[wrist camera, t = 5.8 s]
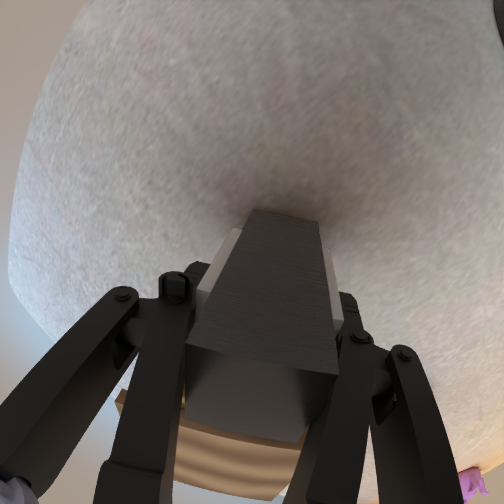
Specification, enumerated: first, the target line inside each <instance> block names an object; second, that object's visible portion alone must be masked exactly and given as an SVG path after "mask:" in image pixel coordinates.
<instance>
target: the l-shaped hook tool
mask: <svg viewBox="0 0 504 504" xmlns="http://www.w3.org/2000/svg"><path fill="white" fill-rule="evenodd" d="M338 376H339V368H338V358H337V349H336V340H335V332H334V324H333V316H332V308H331V301H330V294H329V287H328V281H327V275H326V268H325V262H324V256H323V250H322V245H321V239H320V234H319V228H318V223H317V222H313V221H309V220H304V219H300V218H295V217H291V216H286V215H282V214H277V213H272V212H267V211H263V210H258V209H253V211H252V213H251V215H250V217H249V218H248V220H247V222H246V224H245V226H244V228H243V230H242V232H241V234H240V236H239V238H238V240H237V241H236V243H235V245H234V247H233V249H232V251H231V253H230V255H229V257H228V259H227V261H226V263H225V265H224V267H223V269H222V271H221V273H220V275H219V277H218V279H217V280H216V282H215V284H214V286H213V288H212V290H211V292H210V294H209V296H208V298H207V300H206V302H205V304H204V306H203V308H202V310H201V312H200V314H199V316H198V318H197V320H196V322H195V324H194V326H193V328H192V330H191V332H190V334H189V336H188V338H187V340H186V342H185V419H186V420H189V421H192V422H196V423H199V424H203V425H207V426H211V427H215V428H219V429H223V430H227V431H231V432H236V433H241V434H245V435H250V436H256V437H261V438H267V439H273V440H280V441H286V442H294V443H297V442H298V440H299V439H300V437H301V436H302V434H303V433H304V431H305V430H306V428H307V427H308V425H309V424H310V422H311V421H312V419H313V418H314V416H315V415H316V413H317V411H318V410H319V408H320V407H321V405H322V403H323V402H324V400H325V398H326V397H327V395H328V393H329V392H330V390H331V388H332V387H333V385H334V383H335V381H336V380H337V378H338Z"/></svg>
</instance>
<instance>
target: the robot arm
mask: <svg viewBox="0 0 504 504" xmlns="http://www.w3.org/2000/svg"><path fill="white" fill-rule="evenodd" d="M494 5H495V13H496V18H497V23H498V26H499V30H500V33H501V36H502V39H503V42H504V0H494ZM241 232H242V229H237V228H233V229H232V230H231V232H230V234H229V235H228V237H227V239H226V240H225V242H224V243H223V245H222V247H221V248H220V250H219V252H218V253H217V255H216V257H215V258H214V260H213V262H212V263H211V264H207V263H203V262H198V261H196V262H194V263H192V264H190V265H189V266H188V267H187V269H186V270H185V272H184V273H183V272H178V271H171V272H166V273H164V274H162V275H161V276H160V277H159V297H158V298H155V299H148V298H139V294H138V292H137V291H136V289H134V288H132V287H128V286H118V287H115V288H113V289H111V290H110V291H108V292H107V293H106V294H105V295H104V296H103V297H102V298H101V299H100V300H99V301H98V302H97V303H96V304H95V305H94V306H93V307H92V308H91V309H90V310H88V311H87V312H86V313H85V314H84V315H83V316H82V317H81V318H80V319H79V320H78V321H77V322H76V323H75V324H74V325H73V326H72V327H71V328H70V329H69V330H68V331H67V332H66V333H65V334H64V335H63V336H62V338H61V339H60V340H59V341H58V342H57V343H56V344H55V345H54V346H53V347H52V348H51V349H50V350H49V351H48V352H47V353H46V354H45V355H44V356H43V358H42V359H41V360H40V361H39V362H38V363H37V364H36V365H35V366H34V367H33V368H32V369H31V371H30V372H29V373H28V374H27V375H26V376H25V377H24V378H23V380H22V381H21V382H20V383H19V384H18V385H17V387H16V388H15V389H14V390H13V391H12V392H11V393H10V395H9V396H8V397H7V398H6V399H5V400H4V402H3V403H2V404H1V405H0V504H39V502H38V498H39V497H41V496H42V495H43V494H44V493H45V492H46V491H47V490H48V489H49V487H50V486H51V485H52V483H53V482H54V481H55V479H56V478H57V476H58V475H59V473H60V471H61V470H62V468H63V466H64V465H65V463H66V462H67V460H68V458H69V457H70V455H71V454H72V452H73V450H74V449H75V447H76V446H77V444H78V442H79V441H80V439H81V438H82V436H83V435H84V433H85V432H86V430H87V428H88V427H89V425H90V424H91V422H92V420H93V419H94V418H95V416H96V415H97V413H98V412H99V410H100V408H101V407H102V406H103V404H104V403H105V401H106V400H107V398H108V397H109V395H110V394H111V392H112V391H113V389H114V388H115V386H116V385H117V383H118V382H119V380H120V379H121V377H122V376H123V374H124V373H125V371H126V370H127V369H128V367H129V366H130V364H131V363H132V361H133V360H134V358H135V357H136V356H137V354H138V353H139V355H138V358H137V361H136V364H135V367H134V371H133V374H132V377H131V381H130V384H129V387H128V391H127V394H126V398H125V401H124V405H123V409H122V412H121V416H120V420H119V424H118V428H117V431H116V435H115V439H114V443H113V448H112V452H111V455H110V457H109V459H108V460H106V461H104V463H103V464H102V466H101V468H100V472H99V475H98V480H97V485H96V489H95V494H94V500H93V504H172V488H173V477H174V467H175V457H176V447H177V438H178V429H179V421H180V413H181V405H182V397H183V390H184V382H185V342H186V340H187V338H188V336H189V334H190V332H191V330H192V328H193V326H194V324H195V322H196V320H197V318H198V316H199V314H200V312H201V310H202V308H203V306H204V304H205V302H206V300H207V298H208V296H209V294H210V292H211V290H212V288H213V286H214V284H215V282H216V280H217V279H218V277H219V275H220V273H221V271H222V269H223V267H224V265H225V263H226V261H227V259H228V257H229V255H230V253H231V251H232V249H233V247H234V245H235V243H236V241H237V240H238V238H239V236H240V234H241ZM322 250H323V256H324V262H325V268H326V275H327V281H328V287H329V294H330V301H331V308H332V316H333V324H334V332H335V340H336V349H337V358H338V368H339V376H338V378H337V380H336V381H335V383H334V385H333V387H332V388H331V390H330V392H329V393H328V395H327V397H326V398H325V400H324V402H323V403H322V405H321V407H320V408H319V410H318V411H317V413H316V415H315V416H314V418H313V419H312V421H311V422H310V424H309V427H308V431H307V434H306V437H305V440H304V444H303V447H302V450H301V453H300V456H299V459H298V462H297V465H296V468H295V471H294V474H293V477H292V479H291V482H290V485H289V488H288V490H287V493H286V496H285V498H284V501H283V503H282V504H357V498H358V493H359V488H360V483H361V478H362V472H363V466H364V460H365V453H366V446H367V438H368V430H369V425H370V431H371V438H372V444H373V451H374V459H375V467H376V475H377V484H378V494H379V504H464V499H463V494H462V490H461V485H460V481H459V477H458V473H457V469H456V465H455V461H454V457H453V454H452V450H451V447H450V443H449V440H448V437H447V433H446V430H445V427H444V424H443V421H442V418H441V415H440V412H439V409H438V406H437V403H436V401H435V398H434V395H433V392H432V390H431V387H430V385H429V382H428V379H427V377H426V374H425V372H424V369H423V367H422V364H421V362H420V360H419V357H418V355H417V354H416V352H415V351H414V350H412V349H411V348H410V347H408V346H405V345H395V346H393V347H392V349H391V351H388V350H385V349H383V348H380V347H378V346H376V345H374V341H373V338H372V336H371V335H370V334H369V333H368V332H367V331H365V330H364V328H363V324H362V320H361V317H360V314H359V309H358V305H357V301H356V300H355V298H354V297H353V296H352V295H351V294H349V293H344V292H339V291H338V286H337V281H336V276H335V272H334V267H333V262H332V258H331V253H330V249H329V248H325V247H322ZM139 351H140V352H139Z"/></svg>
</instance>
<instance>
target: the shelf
mask: <svg viewBox="0 0 504 504" xmlns="http://www.w3.org/2000/svg"><path fill="white" fill-rule="evenodd" d="M126 394H127V390H125V389H122V390H121V391H120V393H119V395H118V396H117V398H116V400H115V404H116V407H117V409H118V412H119V415H120V416H121V412H122V409H123V405H124V401H125V398H126ZM308 427H309V425H308ZM308 427H307V428H306V430H305V431H304V433H303V434H302V436H301V437H300V439H299V440H298V442H297V443H294V442H286V441H280V440H273V439H267V438H261V437H256V436H250V435H245V434H241V433H236V432H231V431H227V430H223V429H219V428H215V427H211V426H207V425H203V424H199V423H196V422H192V421H189V420H186V419H185V410H182V409H181V413H180V421H179V429H178V438H177V447H176V457H175V467H174V477H173V480H175V481H178V482H181V483H184V484H188V485H192V486H195V487H199V488H202V489H207V490H210V491H215V492H219V493H224V494H228V495H233V496H239V497H244V498H250V499H257V500H264V501H272V500H273V499H274V498H275V497H276V496H277V495H278V494H279V493H280V492H281V491H282V490H283V489H284V488H285V487H286V486H287V485H288V484H289V483H290V482H291V479H292V477H293V474H294V471H295V468H296V465H297V462H298V459H299V456H300V453H301V450H302V447H303V444H304V440H305V437H306V434H307V431H308Z"/></svg>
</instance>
